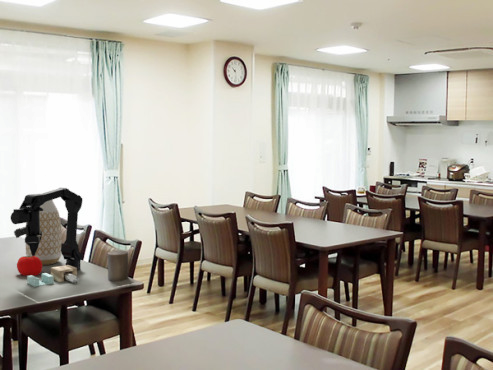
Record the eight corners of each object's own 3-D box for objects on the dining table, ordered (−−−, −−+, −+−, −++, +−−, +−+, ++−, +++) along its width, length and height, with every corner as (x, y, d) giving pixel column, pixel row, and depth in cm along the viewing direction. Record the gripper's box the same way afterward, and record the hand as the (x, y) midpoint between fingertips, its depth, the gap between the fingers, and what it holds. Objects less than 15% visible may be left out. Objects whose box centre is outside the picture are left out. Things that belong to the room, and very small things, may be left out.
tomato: (35, 279, 265) (34, 258, 264) (11, 277, 268) (11, 257, 267) (47, 273, 276) (47, 253, 275) (25, 272, 278) (25, 252, 278)
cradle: (46, 281, 261) (46, 272, 261) (53, 284, 255) (53, 276, 255) (27, 284, 255) (27, 275, 254) (34, 288, 249) (34, 279, 249)
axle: (56, 277, 266) (56, 270, 266) (62, 276, 268) (63, 269, 268) (71, 283, 255) (71, 276, 254) (78, 282, 257) (78, 275, 257)
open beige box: (68, 276, 270) (68, 264, 270) (77, 280, 264) (76, 268, 264) (50, 279, 264) (50, 267, 264) (59, 283, 258) (59, 271, 257)
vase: (51, 267, 289) (50, 196, 286) (19, 266, 292) (17, 195, 288) (68, 260, 307) (67, 193, 304) (37, 258, 310) (36, 192, 307)
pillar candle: (132, 280, 266) (132, 249, 265) (115, 283, 259) (114, 252, 258) (120, 276, 272) (120, 246, 271) (103, 280, 265) (103, 249, 264)
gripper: (17, 218, 265) (18, 250, 266) (12, 225, 247) (13, 259, 248) (41, 218, 268) (42, 249, 269) (38, 224, 250) (39, 257, 251)
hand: (34, 253), depth 259 cm, fingers open, 9 cm apart
